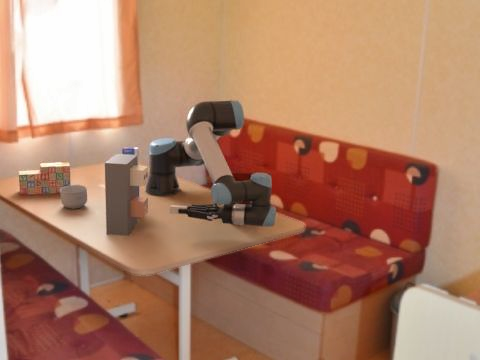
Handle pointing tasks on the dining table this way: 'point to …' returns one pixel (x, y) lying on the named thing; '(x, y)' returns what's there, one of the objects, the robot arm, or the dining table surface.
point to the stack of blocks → (45, 179)
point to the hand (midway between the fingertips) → (170, 209)
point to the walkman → (130, 151)
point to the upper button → (138, 175)
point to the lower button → (138, 206)
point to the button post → (119, 194)
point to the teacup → (74, 196)
